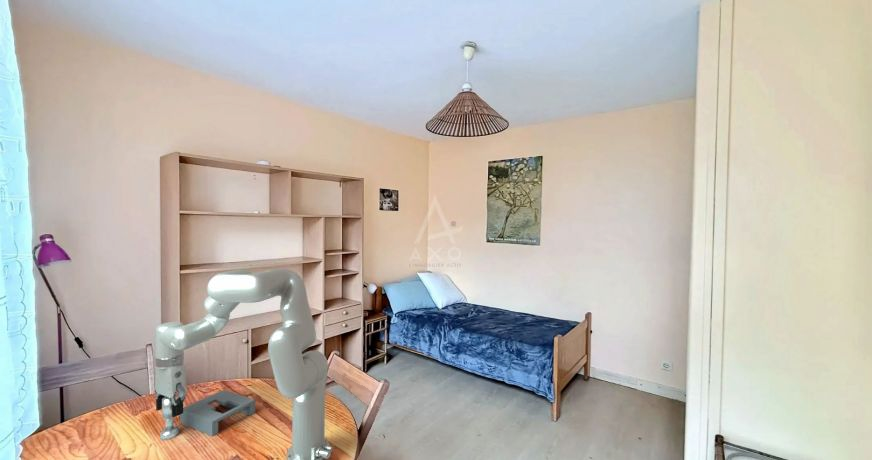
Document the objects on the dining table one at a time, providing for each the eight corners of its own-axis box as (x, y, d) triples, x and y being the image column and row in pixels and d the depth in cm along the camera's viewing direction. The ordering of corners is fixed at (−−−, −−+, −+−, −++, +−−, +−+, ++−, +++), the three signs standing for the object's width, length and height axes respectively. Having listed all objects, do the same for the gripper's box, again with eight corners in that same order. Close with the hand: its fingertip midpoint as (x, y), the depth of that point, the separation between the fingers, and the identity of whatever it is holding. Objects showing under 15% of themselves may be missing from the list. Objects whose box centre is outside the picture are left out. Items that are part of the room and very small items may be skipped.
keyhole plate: (255, 413, 130) (255, 399, 130) (212, 436, 115) (212, 421, 115) (224, 402, 137) (224, 389, 137) (180, 422, 123) (180, 408, 123)
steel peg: (181, 433, 117) (181, 395, 116) (165, 441, 112) (165, 402, 112) (173, 430, 119) (173, 392, 118) (157, 437, 114) (157, 398, 114)
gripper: (197, 361, 115) (197, 412, 115) (167, 352, 122) (167, 400, 122) (172, 369, 108) (172, 424, 108) (142, 359, 115) (142, 411, 116)
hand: (169, 411), depth 115 cm, fingers open, 8 cm apart
